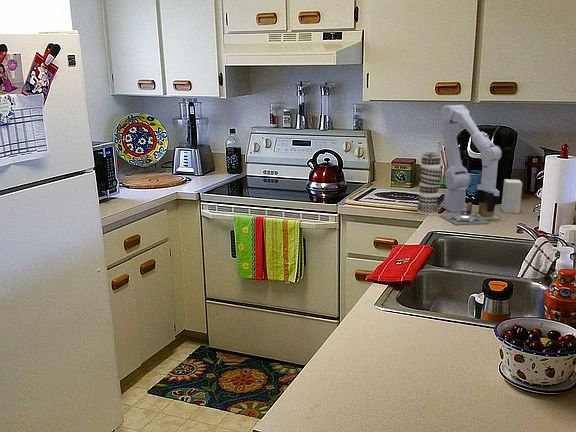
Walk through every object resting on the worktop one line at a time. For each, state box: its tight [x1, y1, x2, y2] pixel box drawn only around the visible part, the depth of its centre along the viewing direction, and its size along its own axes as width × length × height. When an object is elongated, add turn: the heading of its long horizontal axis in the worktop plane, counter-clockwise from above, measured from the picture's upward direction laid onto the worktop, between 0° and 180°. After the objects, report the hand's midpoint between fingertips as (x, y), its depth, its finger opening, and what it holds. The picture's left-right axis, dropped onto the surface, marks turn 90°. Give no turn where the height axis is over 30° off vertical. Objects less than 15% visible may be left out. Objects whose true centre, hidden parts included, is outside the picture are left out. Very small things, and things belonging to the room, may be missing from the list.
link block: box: [477, 201, 496, 217], centre depth 248 cm, size 4×5×5 cm
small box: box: [500, 178, 524, 214], centre depth 259 cm, size 8×6×13 cm
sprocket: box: [448, 202, 481, 222], centre depth 243 cm, size 12×12×5 cm
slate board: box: [438, 213, 490, 226], centre depth 244 cm, size 15×14×1 cm
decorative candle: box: [417, 151, 443, 216], centre depth 253 cm, size 9×9×25 cm
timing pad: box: [480, 215, 499, 221], centre depth 249 cm, size 8×7×1 cm
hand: (486, 209), depth 248 cm, fingers open, 6 cm apart
